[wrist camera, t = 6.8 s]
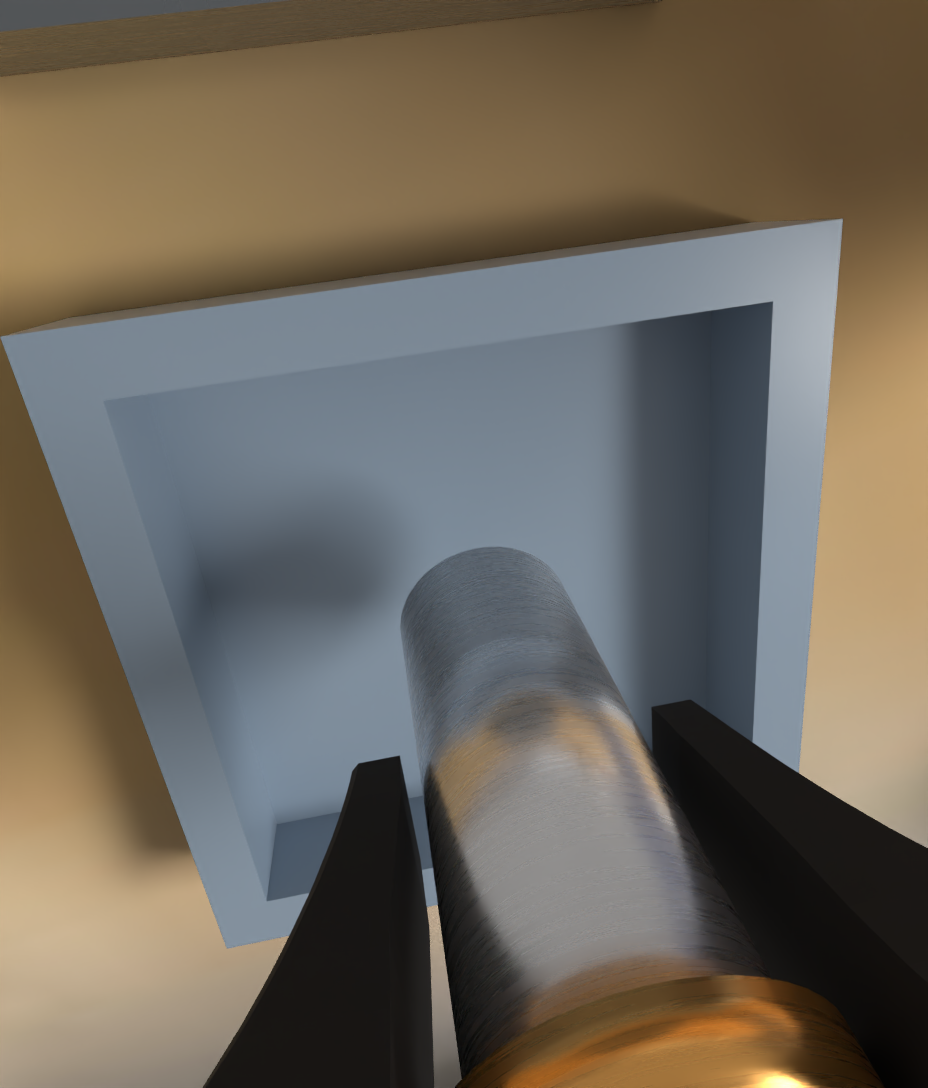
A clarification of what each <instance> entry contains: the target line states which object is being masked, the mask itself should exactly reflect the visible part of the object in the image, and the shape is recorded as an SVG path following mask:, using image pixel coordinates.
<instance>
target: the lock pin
mask: <svg viewBox="0 0 928 1088" xmlns="http://www.w3.org/2000/svg"><path fill="white" fill-rule="evenodd" d="M400 631H401V640H402V647H403V654H404V661H405V669H406V676H407V683H408V690H409V698H410V705H411V712H412V720H413V727H414V734H415V741H416V749H417V756H418V763H419V771H420V778H421V785H422V792H423V800H424V807H425V814H426V822H427V829H428V836H429V843H430V851H431V858H432V865H433V872H434V880H435V887H436V894H437V902H438V909H439V916H440V923H441V931H442V938H443V945H444V953H445V960H446V967H447V974H448V982H449V989H450V996H451V1004H452V1011H453V1018H454V1025H455V1033H456V1040H457V1047H458V1055H459V1062H460V1069H461V1076H462V1080H461V1081H460V1082H459V1083H458V1084H457V1085H456V1086H455V1088H885V1086H884V1085H883V1083H882V1081H881V1080H880V1078H879V1076H878V1075H877V1073H876V1071H875V1069H874V1068H873V1066H872V1064H871V1063H870V1061H869V1059H868V1058H867V1056H866V1054H865V1053H864V1051H863V1049H862V1047H861V1046H860V1044H859V1042H858V1041H857V1039H856V1037H855V1036H854V1034H853V1032H852V1031H851V1029H850V1027H849V1025H848V1024H847V1022H846V1020H845V1019H844V1017H843V1016H842V1015H841V1013H840V1012H839V1011H838V1009H837V1008H836V1007H835V1006H834V1005H833V1004H832V1003H830V1002H829V1001H828V1000H827V999H826V998H824V997H823V996H821V995H819V994H817V993H815V992H814V991H812V990H810V989H808V988H805V987H802V986H799V985H796V984H793V983H790V982H787V981H782V980H777V979H772V978H771V976H770V974H769V972H768V970H767V968H766V967H765V965H764V963H763V961H762V959H761V957H760V955H759V953H758V951H757V950H756V948H755V946H754V944H753V942H752V940H751V938H750V936H749V935H748V933H747V931H746V929H745V927H744V925H743V923H742V921H741V919H740V918H739V916H738V914H737V912H736V910H735V908H734V906H733V904H732V902H731V901H730V899H729V897H728V895H727V893H726V891H725V889H724V887H723V886H722V884H721V882H720V880H719V878H718V876H717V874H716V872H715V870H714V869H713V867H712V865H711V863H710V861H709V859H708V857H707V855H706V854H705V852H704V850H703V848H702V846H701V844H700V842H699V840H698V838H697V837H696V835H695V833H694V831H693V829H692V827H691V825H690V823H689V821H688V820H687V818H686V816H685V814H684V812H683V810H682V808H681V806H680V805H679V803H678V801H677V799H676V797H675V795H674V793H673V791H672V789H671V788H670V786H669V784H668V782H667V780H666V778H665V776H664V774H663V773H662V771H661V769H660V767H659V765H658V763H657V761H656V759H655V757H654V756H653V754H652V752H651V750H650V748H649V746H648V744H647V742H646V741H645V739H644V737H643V735H642V733H641V731H640V729H639V727H638V725H637V724H636V722H635V720H634V718H633V716H632V714H631V712H630V710H629V708H628V707H627V705H626V703H625V701H624V699H623V697H622V695H621V693H620V692H619V690H618V688H617V686H616V684H615V682H614V680H613V678H612V676H611V675H610V673H609V671H608V669H607V667H606V665H605V663H604V661H603V660H602V658H601V656H600V654H599V652H598V650H597V648H596V646H595V644H594V643H593V641H592V639H591V637H590V635H589V633H588V631H587V629H586V627H585V626H584V624H583V622H582V620H581V618H580V616H579V614H578V612H577V611H576V609H575V607H574V605H573V603H572V601H571V599H570V597H569V595H568V594H567V592H566V590H565V588H564V586H563V584H562V582H561V580H560V579H559V578H558V576H557V575H556V573H555V572H554V571H553V570H552V569H551V568H550V567H549V566H548V565H547V564H546V563H544V562H543V561H542V560H540V559H538V558H537V557H535V556H533V555H531V554H529V553H526V552H524V551H521V550H517V549H513V548H506V547H482V548H475V549H471V550H467V551H463V552H461V553H458V554H455V555H453V556H451V557H449V558H447V559H445V560H443V561H441V562H440V563H438V564H437V565H435V566H434V567H432V568H431V569H430V570H429V571H428V572H426V573H425V574H424V575H423V576H422V577H421V578H420V580H419V581H418V582H417V583H416V584H415V586H414V587H413V589H412V590H411V592H410V593H409V595H408V597H407V599H406V601H405V604H404V607H403V610H402V615H401V623H400Z"/></svg>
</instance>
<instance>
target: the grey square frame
mask: <svg viewBox="0 0 928 1088" xmlns="http://www.w3.org/2000/svg"><path fill="white" fill-rule="evenodd" d="M660 1H662V0H0V76H8V75H16V74H25V73H34V72H43V71H52V70H61V69H69V68H78V67H87V66H96V65H105V64H114V63H122V62H131V61H140V60H149V59H158V58H167V57H175V56H184V55H193V54H202V53H211V52H220V51H228V50H237V49H246V48H255V47H264V46H273V45H281V44H290V43H299V42H308V41H317V40H326V39H334V38H343V37H352V36H361V35H370V34H379V33H387V32H396V31H405V30H414V29H423V28H431V27H440V26H449V25H458V24H467V23H476V22H484V21H493V20H502V19H511V18H520V17H529V16H537V15H546V14H555V13H564V12H573V11H582V10H590V9H599V8H608V7H617V6H626V5H635V4H643V3H652V2H660Z"/></svg>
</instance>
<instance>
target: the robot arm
mask: <svg viewBox="0 0 928 1088" xmlns="http://www.w3.org/2000/svg"><path fill="white" fill-rule="evenodd" d="M651 711H652V753H653V756H654V757H655V759H656V761H657V763H658V765H659V767H660V769H661V771H662V773H663V774H664V776H665V778H666V780H667V782H668V784H669V786H670V788H671V789H672V791H673V793H674V795H675V797H676V799H677V801H678V803H679V805H680V806H681V808H682V810H683V812H684V814H685V816H686V818H687V820H688V821H689V823H690V825H691V827H692V829H693V831H694V833H695V835H696V837H697V838H698V840H699V842H700V844H701V846H702V848H703V850H704V852H705V854H706V855H707V857H708V859H709V861H710V863H711V865H712V867H713V869H714V870H715V872H716V874H717V876H718V878H719V880H720V882H721V884H722V886H723V887H724V889H725V891H726V893H727V895H728V897H729V899H730V901H731V902H732V904H733V906H734V908H735V910H736V912H737V914H738V916H739V918H740V919H741V921H742V923H743V925H744V927H745V929H746V931H747V933H748V935H749V936H750V938H751V940H752V942H753V944H754V946H755V948H756V950H757V951H758V953H759V955H760V957H761V959H762V961H763V963H764V965H765V967H766V968H767V970H768V972H769V974H770V976H771V978H772V979H777V980H782V981H787V982H790V983H793V984H796V985H799V986H802V987H805V988H808V989H810V990H812V991H814V992H815V993H817V994H819V995H821V996H823V997H824V998H826V999H827V1000H828V1001H829V1002H830V1003H832V1004H833V1005H834V1006H835V1007H836V1008H837V1009H838V1011H839V1012H840V1013H841V1015H842V1016H843V1017H844V1019H845V1020H846V1022H847V1024H848V1025H849V1027H850V1029H851V1031H852V1032H853V1034H854V1036H855V1037H856V1039H857V1041H858V1042H859V1044H860V1046H861V1047H862V1049H863V1051H864V1053H865V1054H866V1056H867V1058H868V1059H869V1061H870V1063H871V1064H872V1066H873V1068H874V1069H875V1071H876V1073H877V1075H878V1076H879V1078H880V1080H881V1081H882V1083H883V1085H884V1086H885V1088H928V848H926V847H924V846H922V845H920V844H918V843H916V842H914V841H912V840H911V839H909V838H907V837H905V836H903V835H901V834H900V833H898V832H896V831H894V830H892V829H890V828H889V827H887V826H885V825H883V824H882V823H880V822H878V821H876V820H875V819H873V818H871V817H870V816H868V815H866V814H864V813H863V812H861V811H859V810H858V809H856V808H854V807H852V806H851V805H849V804H847V803H846V802H844V801H842V800H841V799H839V798H837V797H836V796H834V795H832V794H831V793H829V792H828V791H826V790H824V789H823V788H821V787H820V786H818V785H816V784H815V783H813V782H812V781H810V780H808V779H807V778H805V777H804V776H802V775H801V774H799V773H798V772H796V771H795V770H793V769H791V768H790V767H788V766H787V765H785V764H784V763H782V762H781V761H779V760H778V759H776V758H775V757H773V756H772V755H770V754H769V753H767V752H766V751H764V750H763V749H762V748H760V747H759V746H757V745H756V744H754V743H753V742H751V741H750V740H749V739H747V738H746V737H744V736H743V735H741V734H740V733H738V732H737V731H736V730H734V729H733V728H731V727H730V726H728V725H727V724H726V723H724V722H723V721H721V720H720V719H718V718H717V717H716V716H714V715H713V714H711V713H710V712H708V711H707V710H705V709H704V708H703V707H701V706H700V705H698V704H697V703H695V702H694V701H692V700H691V699H690V700H685V701H679V702H674V703H669V704H664V705H659V706H653V707H651ZM203 1088H434V1069H433V1034H432V999H431V966H430V935H429V922H428V914H427V906H426V898H425V890H424V882H423V875H422V867H421V859H420V854H419V849H418V844H417V839H416V834H415V829H414V824H413V819H412V814H411V809H410V804H409V799H408V794H407V789H406V784H405V779H404V774H403V769H402V764H401V759H400V755H399V756H394V757H389V758H384V759H378V760H373V761H368V762H363V763H358V765H357V766H356V767H355V768H354V769H353V771H352V774H351V778H350V783H349V787H348V790H347V794H346V797H345V800H344V804H343V807H342V810H341V813H340V816H339V819H338V822H337V825H336V827H335V830H334V833H333V836H332V839H331V841H330V844H329V846H328V849H327V851H326V854H325V856H324V859H323V861H322V864H321V866H320V869H319V871H318V874H317V876H316V879H315V881H314V884H313V886H312V888H311V890H310V893H309V895H308V897H307V899H306V901H305V904H304V906H303V908H302V910H301V912H300V914H299V916H298V918H297V921H296V923H295V925H294V927H293V929H292V931H291V933H290V935H289V938H288V940H287V942H286V944H285V946H284V948H283V950H282V952H281V954H280V956H279V958H278V960H277V962H276V964H275V965H274V967H273V969H272V971H271V973H270V975H269V977H268V979H267V981H266V982H265V984H264V986H263V988H262V990H261V992H260V993H259V995H258V997H257V999H256V1000H255V1002H254V1004H253V1006H252V1007H251V1009H250V1011H249V1013H248V1015H247V1016H246V1018H245V1020H244V1022H243V1023H242V1025H241V1027H240V1028H239V1030H238V1032H237V1033H236V1035H235V1037H234V1038H233V1040H232V1041H231V1043H230V1045H229V1046H228V1048H227V1049H226V1051H225V1053H224V1054H223V1056H222V1057H221V1059H220V1061H219V1062H218V1064H217V1066H216V1067H215V1069H214V1070H213V1072H212V1074H211V1075H210V1077H209V1078H208V1080H207V1082H206V1083H205V1085H204V1086H203Z"/></svg>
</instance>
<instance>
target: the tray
mask: <svg viewBox="0 0 928 1088" xmlns="http://www.w3.org/2000/svg"><path fill="white" fill-rule="evenodd" d="M842 225H843V219H819V220H794V221H768V222H752V223H744V224H737V225H730V226H723V227H716V228H708V229H701V230H694V231H687V232H680V233H673V234H665V235H658V236H651V237H644V238H637V239H629V240H622V241H615V242H608V243H601V244H594V245H586V246H579V247H572V248H565V249H558V250H550V251H543V252H536V253H529V254H522V255H515V256H507V257H500V258H493V259H486V260H479V261H471V262H464V263H457V264H450V265H443V266H436V267H428V268H421V269H414V270H407V271H400V272H392V273H385V274H378V275H371V276H364V277H357V278H349V279H342V280H335V281H328V282H321V283H313V284H306V285H299V286H292V287H285V288H278V289H270V290H263V291H256V292H249V293H242V294H234V295H227V296H220V297H213V298H206V299H199V300H191V301H184V302H177V303H170V304H163V305H155V306H148V307H141V308H134V309H127V310H120V311H112V312H105V313H98V314H91V315H84V316H76V317H69V318H66V319H62V320H58V321H55V322H51V323H48V324H44V325H40V326H37V327H33V328H30V329H26V330H23V331H19V332H15V333H12V334H8V335H5V336H1V337H0V338H1V340H2V343H3V346H4V348H5V351H6V354H7V356H8V359H9V362H10V365H11V367H12V370H13V373H14V375H15V378H16V381H17V383H18V386H19V389H20V392H21V394H22V397H23V400H24V402H25V405H26V408H27V410H28V413H29V416H30V419H31V421H32V424H33V427H34V429H35V432H36V435H37V437H38V440H39V443H40V446H41V448H42V451H43V454H44V456H45V459H46V462H47V464H48V467H49V470H50V472H51V475H52V478H53V481H54V483H55V486H56V489H57V491H58V494H59V497H60V499H61V502H62V505H63V508H64V510H65V513H66V516H67V518H68V521H69V524H70V526H71V529H72V532H73V535H74V537H75V540H76V543H77V545H78V548H79V551H80V553H81V556H82V559H83V562H84V564H85V567H86V570H87V572H88V575H89V578H90V580H91V583H92V586H93V589H94V591H95V594H96V597H97V599H98V602H99V605H100V607H101V610H102V613H103V616H104V618H105V621H106V624H107V626H108V629H109V632H110V634H111V637H112V640H113V642H114V645H115V648H116V651H117V653H118V656H119V659H120V661H121V664H122V667H123V669H124V672H125V675H126V678H127V680H128V683H129V686H130V688H131V691H132V694H133V696H134V699H135V702H136V705H137V707H138V710H139V713H140V715H141V718H142V721H143V723H144V726H145V729H146V732H147V734H148V737H149V740H150V742H151V745H152V748H153V750H154V753H155V756H156V759H157V761H158V764H159V767H160V769H161V772H162V775H163V777H164V780H165V783H166V785H167V788H168V791H169V794H170V796H171V799H172V802H173V804H174V807H175V810H176V812H177V815H178V818H179V821H180V823H181V826H182V829H183V831H184V834H185V837H186V839H187V842H188V845H189V848H190V850H191V853H192V856H193V858H194V861H195V864H196V866H197V869H198V872H199V875H200V877H201V880H202V883H203V885H204V888H205V891H206V893H207V896H208V899H209V902H210V904H211V907H212V910H213V912H214V915H215V918H216V920H217V923H218V926H219V929H220V931H221V934H222V937H223V939H224V942H225V945H226V947H227V948H232V947H237V946H242V945H247V944H251V943H256V942H261V941H266V940H271V939H275V938H280V937H285V936H289V935H290V933H291V931H292V929H293V927H294V925H295V923H296V921H297V918H298V916H299V914H300V912H301V910H302V908H303V906H304V904H305V901H306V899H307V897H308V895H309V893H310V890H311V888H312V886H313V884H314V881H315V879H316V876H317V874H318V871H319V869H320V866H321V864H322V861H323V859H324V856H325V854H326V851H327V849H328V846H329V844H330V841H331V839H332V836H333V833H334V830H335V827H336V825H337V822H338V819H339V816H340V813H341V810H342V807H343V804H344V800H345V797H346V794H347V790H348V787H349V783H350V778H351V774H352V771H353V769H354V768H355V767H356V766H357V765H358V763H363V762H368V761H373V760H378V759H384V758H389V757H394V756H399V755H400V759H401V764H402V769H403V774H404V779H405V784H406V789H407V794H408V799H409V804H410V809H411V814H412V819H413V824H414V829H415V834H416V839H417V844H418V849H419V854H420V859H421V867H422V875H423V882H424V890H425V898H426V906H427V907H429V906H434V905H438V902H437V894H436V887H435V880H434V872H433V865H432V858H431V851H430V843H429V836H428V829H427V822H426V814H425V807H424V800H423V792H422V785H421V778H420V771H419V763H418V756H417V749H416V741H415V734H414V727H413V720H412V712H411V705H410V698H409V690H408V683H407V676H406V669H405V661H404V654H403V647H402V640H401V631H400V623H401V615H402V610H403V607H404V604H405V601H406V599H407V597H408V595H409V593H410V592H411V590H412V589H413V587H414V586H415V584H416V583H417V582H418V581H419V580H420V578H421V577H422V576H423V575H424V574H425V573H426V572H428V571H429V570H430V569H431V568H432V567H434V566H435V565H437V564H438V563H440V562H441V561H443V560H445V559H447V558H449V557H451V556H453V555H455V554H458V553H461V552H463V551H467V550H471V549H475V548H482V547H506V548H513V549H517V550H521V551H524V552H526V553H529V554H531V555H533V556H535V557H537V558H538V559H540V560H542V561H543V562H544V563H546V564H547V565H548V566H549V567H550V568H551V569H552V570H553V571H554V572H555V573H556V575H557V576H558V578H559V579H560V580H561V582H562V584H563V586H564V588H565V590H566V592H567V594H568V595H569V597H570V599H571V601H572V603H573V605H574V607H575V609H576V611H577V612H578V614H579V616H580V618H581V620H582V622H583V624H584V626H585V627H586V629H587V631H588V633H589V635H590V637H591V639H592V641H593V643H594V644H595V646H596V648H597V650H598V652H599V654H600V656H601V658H602V660H603V661H604V663H605V665H606V667H607V669H608V671H609V673H610V675H611V676H612V678H613V680H614V682H615V684H616V686H617V688H618V690H619V692H620V693H621V695H622V697H623V699H624V701H625V703H626V705H627V707H628V708H629V710H630V712H631V714H632V716H633V718H634V720H635V722H636V724H637V725H638V727H639V729H640V731H641V733H642V735H643V737H644V739H645V741H646V742H647V744H648V746H649V748H650V750H651V752H652V711H651V707H653V706H659V705H664V704H669V703H674V702H679V701H685V700H690V699H691V700H692V701H694V702H695V703H697V704H698V705H700V706H701V707H703V708H704V709H705V710H707V711H708V712H710V713H711V714H713V715H714V716H716V717H717V718H718V719H720V720H721V721H723V722H724V723H726V724H727V725H728V726H730V727H731V728H733V729H734V730H736V731H737V732H738V733H740V734H741V735H743V736H744V737H746V738H747V739H749V740H750V741H751V742H753V743H754V744H756V745H757V746H759V747H760V748H762V749H763V750H764V751H766V752H767V753H769V754H770V755H772V756H773V757H775V758H776V759H778V760H779V761H781V762H782V763H784V764H785V765H787V766H788V767H790V768H791V769H793V770H795V771H796V772H798V773H799V762H800V750H801V737H802V725H803V712H804V700H805V687H806V675H807V662H808V650H809V637H810V625H811V612H812V600H813V587H814V575H815V562H816V550H817V537H818V525H819V512H820V500H821V487H822V475H823V462H824V450H825V437H826V425H827V412H828V400H829V387H830V375H831V362H832V350H833V337H834V325H835V312H836V300H837V287H838V275H839V262H840V250H841V237H842ZM652 754H653V753H652Z"/></svg>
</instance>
